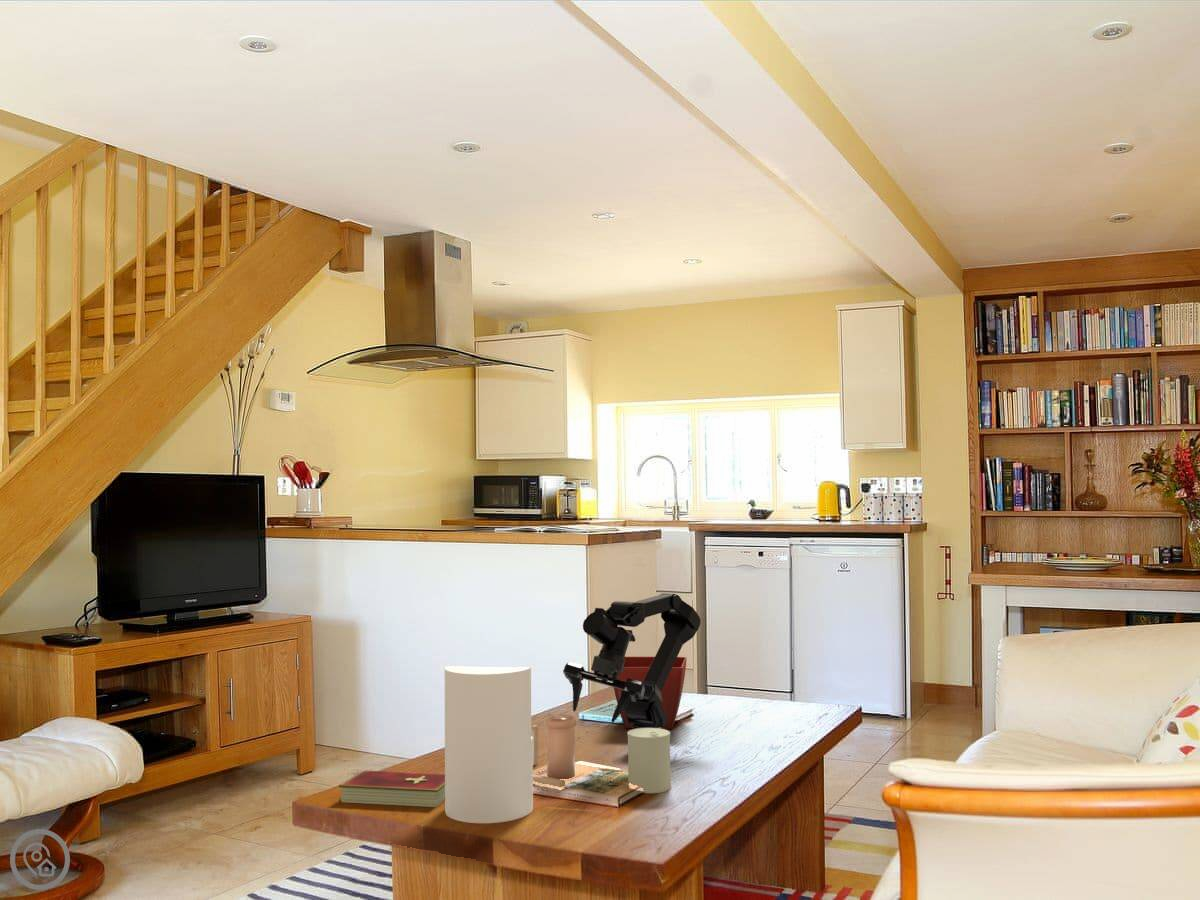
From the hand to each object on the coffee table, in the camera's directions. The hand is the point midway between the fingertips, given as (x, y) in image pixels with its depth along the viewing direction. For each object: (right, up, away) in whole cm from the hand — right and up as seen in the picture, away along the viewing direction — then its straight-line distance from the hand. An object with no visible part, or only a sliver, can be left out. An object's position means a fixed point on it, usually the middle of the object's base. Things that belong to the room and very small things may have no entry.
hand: (593, 716), depth 236 cm
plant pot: (+15, -14, +45) cm, 49 cm away
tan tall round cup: (-7, -11, -9) cm, 16 cm away
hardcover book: (-40, -12, -21) cm, 47 cm away
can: (+12, -11, -16) cm, 23 cm away
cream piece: (-8, -12, -5) cm, 15 cm away
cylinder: (-20, -11, -30) cm, 38 cm away
